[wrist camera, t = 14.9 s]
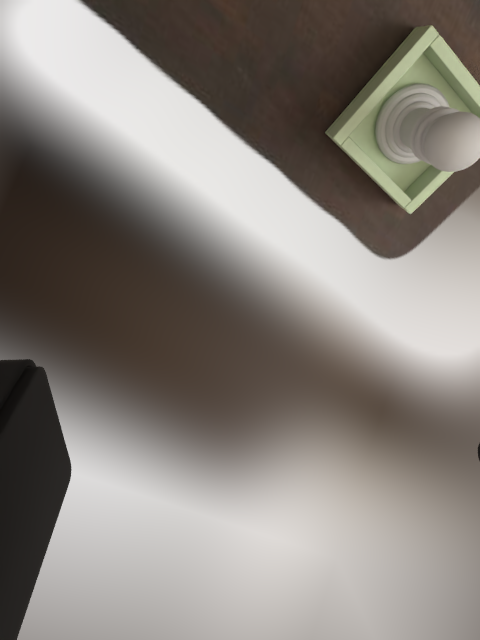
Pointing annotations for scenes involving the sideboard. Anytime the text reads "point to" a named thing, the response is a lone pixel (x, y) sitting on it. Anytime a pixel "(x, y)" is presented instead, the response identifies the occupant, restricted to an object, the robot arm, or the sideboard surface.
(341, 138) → the socket pad
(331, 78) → the sideboard surface
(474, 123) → the chess piece
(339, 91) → the sideboard surface
